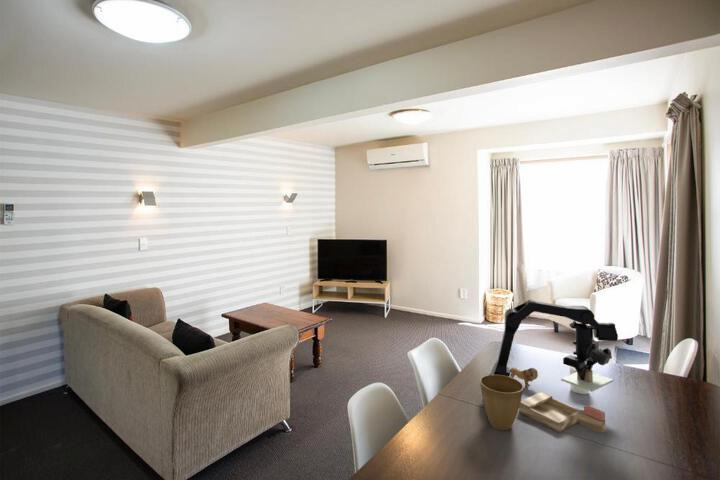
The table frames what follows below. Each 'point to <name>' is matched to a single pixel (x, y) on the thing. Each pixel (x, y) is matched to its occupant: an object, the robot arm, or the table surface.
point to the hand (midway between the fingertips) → (584, 379)
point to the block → (594, 412)
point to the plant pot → (501, 399)
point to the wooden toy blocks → (557, 413)
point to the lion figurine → (524, 375)
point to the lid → (587, 380)
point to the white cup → (575, 388)
